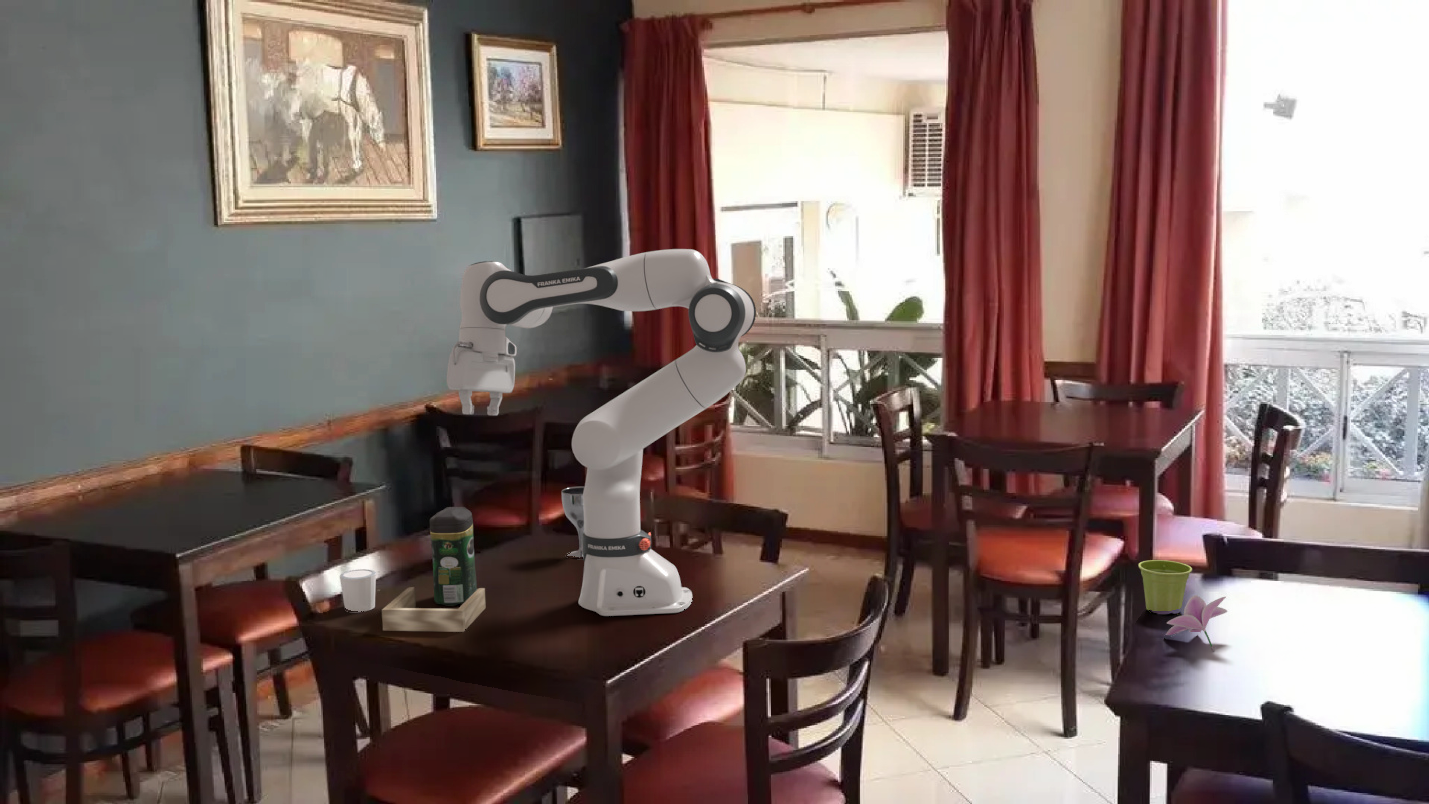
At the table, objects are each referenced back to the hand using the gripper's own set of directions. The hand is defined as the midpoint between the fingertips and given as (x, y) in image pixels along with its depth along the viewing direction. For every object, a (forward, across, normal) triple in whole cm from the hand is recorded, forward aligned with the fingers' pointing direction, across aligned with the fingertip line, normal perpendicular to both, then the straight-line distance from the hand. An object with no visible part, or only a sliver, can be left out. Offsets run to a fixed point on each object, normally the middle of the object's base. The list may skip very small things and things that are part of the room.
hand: (480, 414), depth 240 cm
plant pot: (+35, +36, -126) cm, 136 cm away
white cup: (+39, -5, +23) cm, 45 cm away
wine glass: (+31, +42, -2) cm, 52 cm away
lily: (+38, +18, -132) cm, 138 cm away
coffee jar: (+37, +5, +8) cm, 38 cm away
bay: (+39, -6, +5) cm, 40 cm away
